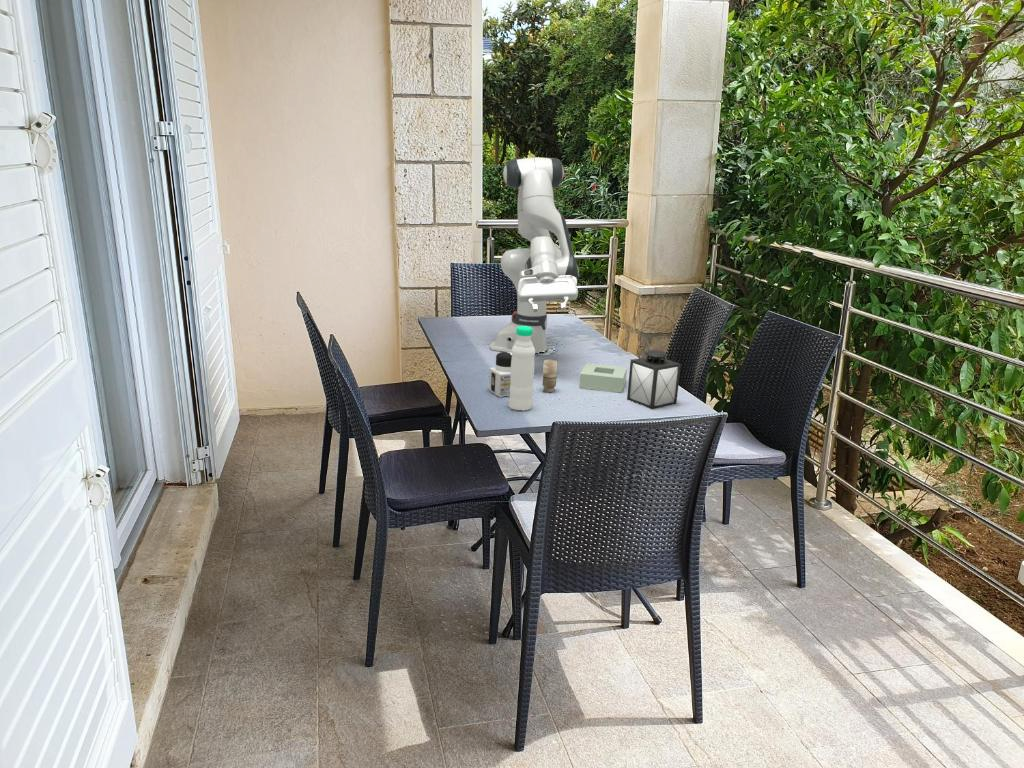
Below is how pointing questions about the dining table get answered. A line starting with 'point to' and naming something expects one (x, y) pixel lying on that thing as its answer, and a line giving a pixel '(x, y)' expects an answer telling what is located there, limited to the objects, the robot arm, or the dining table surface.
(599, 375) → the hole block
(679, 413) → the dining table surface
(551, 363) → the peg
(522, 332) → the water bottle
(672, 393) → the lantern
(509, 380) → the container
